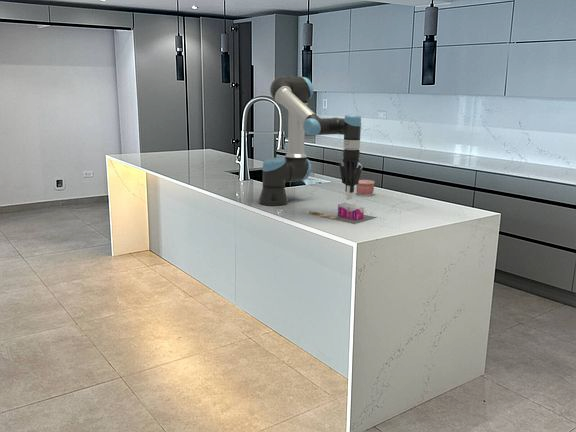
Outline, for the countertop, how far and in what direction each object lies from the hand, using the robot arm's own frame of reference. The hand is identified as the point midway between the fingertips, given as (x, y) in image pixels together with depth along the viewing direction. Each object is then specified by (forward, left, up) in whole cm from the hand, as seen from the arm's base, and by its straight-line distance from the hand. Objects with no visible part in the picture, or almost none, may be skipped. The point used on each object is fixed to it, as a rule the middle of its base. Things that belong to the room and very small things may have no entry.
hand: (349, 199), depth 261 cm
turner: (-9, -7, -9) cm, 15 cm away
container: (-27, +53, -9) cm, 60 cm away
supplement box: (-5, 0, -6) cm, 7 cm away
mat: (+3, 0, -9) cm, 10 cm away
